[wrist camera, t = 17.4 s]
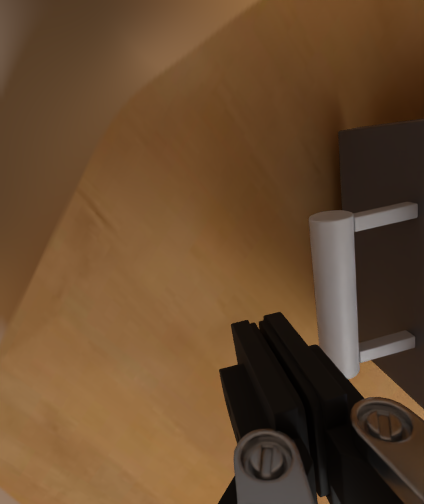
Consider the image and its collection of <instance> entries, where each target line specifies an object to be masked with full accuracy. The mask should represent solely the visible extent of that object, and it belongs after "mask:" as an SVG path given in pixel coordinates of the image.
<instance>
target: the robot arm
mask: <svg viewBox="0 0 424 504" xmlns="http://www.w3.org/2000/svg"><path fill="white" fill-rule="evenodd" d="M231 328H232V334H233V340H234V345H235V351H236V356H237V362H238V365H235V366H231V367H227V368H223V369H219V372H220V378H221V383H222V388H223V392H224V397H225V401H226V405H227V409H228V413H229V417H230V420H231V424H232V427H233V431H234V434H235V438H236V441H237V446H236V448H235V451H234V470H235V476H234V478H233V479H232V481H231V483H230V484H229V486H228V488H227V489H226V491H225V493H224V494H223V496H222V498H221V499H220V501H219V503H218V504H318V502H317V494H318V495H319V496H320V497H323V496H326V497H327V499H328V501H329V503H330V504H424V420H423V419H421V418H420V417H419V416H418V415H416V414H415V413H414V412H412V411H411V410H410V409H409V408H407V407H405V406H404V405H402V404H401V403H399V402H396V401H394V400H391V399H387V398H381V397H369V398H366V399H364V398H363V396H362V395H361V394H360V393H359V392H358V391H357V389H356V388H355V387H354V386H353V385H352V384H351V383H350V381H349V380H348V379H347V378H346V377H345V376H344V374H343V373H342V372H341V371H340V370H339V369H338V367H337V366H336V365H335V364H334V363H333V362H332V361H331V359H330V358H329V357H328V356H327V355H326V354H325V352H324V351H323V350H322V349H321V348H320V347H319V346H318V345H311V346H308V345H307V344H306V343H305V341H304V340H303V339H302V338H301V336H300V335H299V334H298V333H297V332H296V330H295V329H294V328H293V327H292V325H291V324H290V323H289V322H288V320H287V319H286V318H285V317H284V315H283V314H282V313H281V312H277V313H273V314H269V315H265V316H264V320H263V321H259V329H260V330H259V329H258V327H257V325H256V324H255V323H251V324H250V323H249V321H248V320H245V321H241V322H237V323H233V324H231ZM316 492H317V493H316Z"/></svg>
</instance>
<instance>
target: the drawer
mask: <svg viewBox="0 0 424 504" xmlns="http://www.w3.org/2000/svg"><path fill="white" fill-rule="evenodd" d="M338 138H339V157H340V177H341V196H342V210H332V211H324V212H319V213H316V214H313V215H311V216H310V217H309V230H310V241H311V253H312V265H313V277H314V289H315V301H316V313H317V325H318V337H319V347H320V348H321V349H322V350H323V351H324V352H325V354H326V355H327V356H328V357H329V358H330V359H331V361H332V362H333V363H334V364H335V365H336V366H337V367H338V369H339V370H340V371H341V372H342V373H343V374H344V376H345V377H346V378H347V379H350V378H353V377H355V376H356V375H357V374H358V372H359V370H360V367H359V362H360V363H362V362H365V361H369V360H372V361H373V362H374V363H375V364H376V365H377V366H378V367H379V368H380V369H381V370H382V371H383V372H384V373H386V374H387V375H388V376H389V377H390V378H391V379H392V380H393V381H394V382H395V383H396V384H397V385H398V386H400V387H401V388H402V389H403V390H404V391H405V392H406V393H407V394H408V395H409V396H410V397H411V398H412V399H414V400H415V401H416V402H417V403H418V404H419V405H420V406H421V407H422V408H423V409H424V119H417V120H410V121H402V122H395V123H387V124H380V125H372V126H365V127H357V128H352V129H347V130H341V131H339V132H338Z"/></svg>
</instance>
